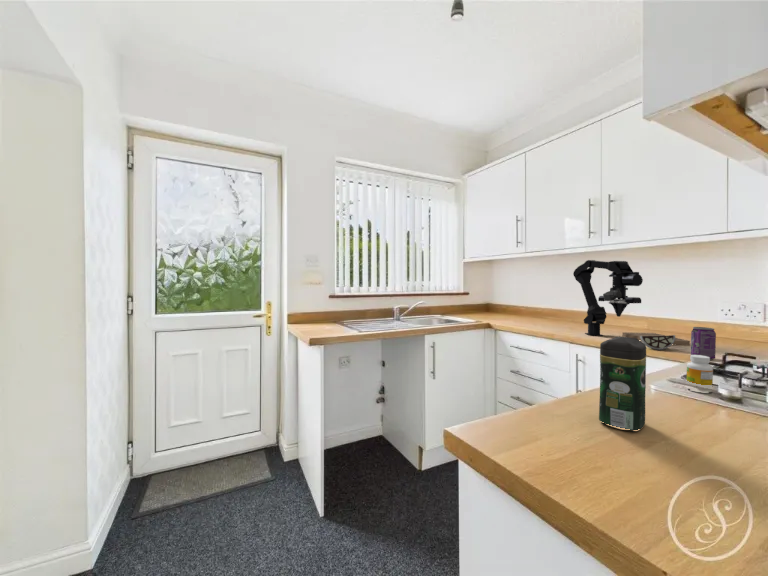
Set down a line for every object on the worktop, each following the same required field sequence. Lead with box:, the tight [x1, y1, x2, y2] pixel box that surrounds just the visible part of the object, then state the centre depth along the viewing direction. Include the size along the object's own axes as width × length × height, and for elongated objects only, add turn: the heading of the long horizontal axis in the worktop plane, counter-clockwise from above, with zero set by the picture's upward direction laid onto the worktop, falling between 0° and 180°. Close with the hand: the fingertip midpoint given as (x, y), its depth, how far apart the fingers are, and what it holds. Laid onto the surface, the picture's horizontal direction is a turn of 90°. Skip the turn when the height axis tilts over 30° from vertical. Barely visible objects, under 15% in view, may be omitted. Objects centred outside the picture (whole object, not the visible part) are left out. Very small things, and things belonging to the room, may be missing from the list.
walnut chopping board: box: [621, 331, 691, 346], centre depth 174 cm, size 24×16×2 cm, turn 176°
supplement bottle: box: [685, 354, 714, 385], centre depth 95 cm, size 5×5×10 cm
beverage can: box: [690, 326, 717, 361], centre depth 135 cm, size 7×7×12 cm
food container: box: [640, 334, 676, 351], centre depth 153 cm, size 12×6×10 cm
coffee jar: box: [598, 336, 648, 430], centre depth 73 cm, size 10×8×19 cm
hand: (618, 316), depth 174 cm, fingers closed
